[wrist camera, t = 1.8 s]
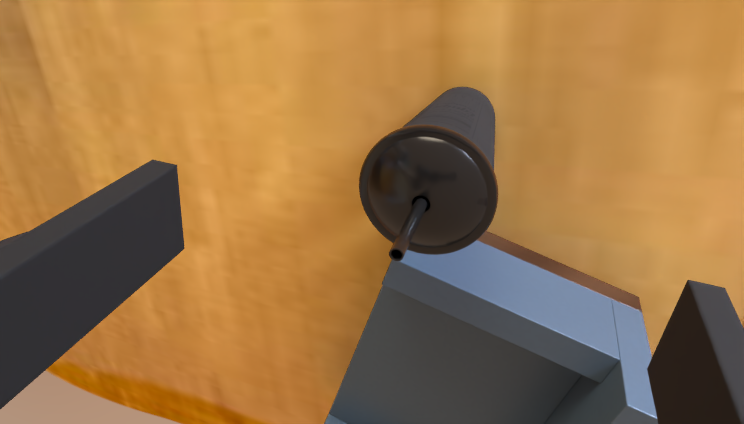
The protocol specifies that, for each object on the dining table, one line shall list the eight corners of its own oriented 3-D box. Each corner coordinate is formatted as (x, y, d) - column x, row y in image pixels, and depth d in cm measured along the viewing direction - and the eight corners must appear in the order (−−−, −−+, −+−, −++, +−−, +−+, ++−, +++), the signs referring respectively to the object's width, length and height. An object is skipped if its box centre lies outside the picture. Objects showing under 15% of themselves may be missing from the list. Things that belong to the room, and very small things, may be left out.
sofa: (342, 385, 58) (292, 493, 47) (419, 202, 45) (376, 290, 34) (510, 465, 56) (499, 597, 45) (639, 297, 44) (667, 423, 33)
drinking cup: (406, 154, 44) (311, 299, 27) (420, 59, 40) (321, 157, 23) (501, 175, 42) (464, 343, 25) (525, 78, 39) (501, 198, 22)
